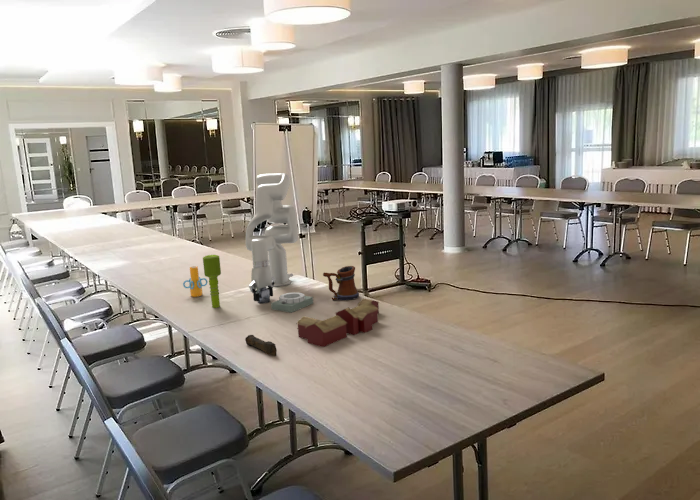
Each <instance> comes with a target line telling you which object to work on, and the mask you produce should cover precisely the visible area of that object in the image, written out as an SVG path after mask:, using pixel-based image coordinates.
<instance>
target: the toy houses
mask: <svg viewBox="0 0 700 500" xmlns="http://www.w3.org/2000/svg"><path fill="white" fill-rule="evenodd" d="M379 308H380V307H379V301H377V300H374V299H369V298H362V299H361V300H359V302H358V303H357V306H355V307H353V308H350V307H346V308H344V309H341V310H338V311H336V312H335V315H334V316H331V317H329V318H325V319H323V320H320V319H318V318H313V317H308V316H306V315H305V316H302V317H300V318H299V320H297V322H296V325H297V328H296V329H297V334H298V338H301V339H305V340H307V343H308V344H310V345H314V346H318V347H320V348H324V347H327V346H329V345H331V344H334V343H337V342H338V341H341V340H343V339H345V338H347V337H348V336H347V335H352V336H356V335H357V334H359V332H360V333H364V334H365V333H368V332H370V331H372V330H373V325H374V324H376V323H378V322H379V318H378V314H379V313H380V311H379Z"/></svg>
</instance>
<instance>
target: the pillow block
mask: <svg viewBox="0 0 700 500" xmlns="http://www.w3.org/2000/svg"><path fill="white" fill-rule="evenodd" d="M270 304H271V310H272V311H273V310H274V311H280V312H286V313H294V312H296V311H298V310H300V309H303V308H306V307H308V306H310V305H313V304H314V297H313V296H307V295H305V293H302V292H287V293H283V294H280V295H279V296H278V300H275V301H272V302H271V303H270Z"/></svg>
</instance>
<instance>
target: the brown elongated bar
mask: <svg viewBox="0 0 700 500" xmlns="http://www.w3.org/2000/svg"><path fill="white" fill-rule="evenodd" d="M244 340H245V344H246V345H248V346H252V347H254V348H256V349H258V350H261V351H262V352H264V353H265V355H269V356H274V357H276V356H277V351H278V349H277V347H276V344H275V343H274V342H272V341H265V340H263V339H261V338H258V337H256V336H255V335H254V334H248V335H247V336H246V337H245V339H244Z"/></svg>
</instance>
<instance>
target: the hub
mask: <svg viewBox="0 0 700 500" xmlns="http://www.w3.org/2000/svg"><path fill="white" fill-rule="evenodd" d="M258 293H259V299H260V301H259V302H257V304H269V303H270V302H271V296H270V293H269V289H268V287H264V288H261V289H259V291H258Z"/></svg>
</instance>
